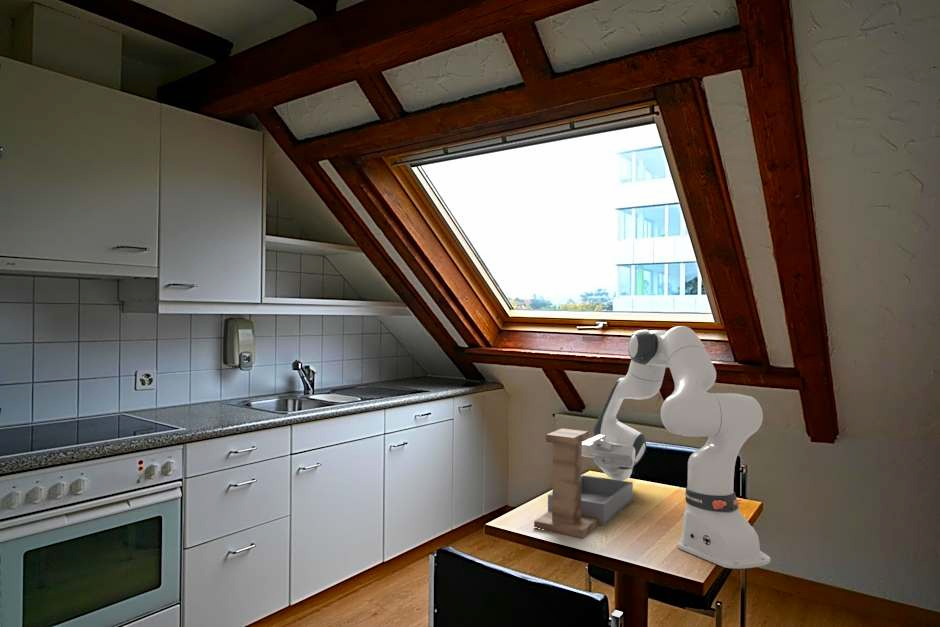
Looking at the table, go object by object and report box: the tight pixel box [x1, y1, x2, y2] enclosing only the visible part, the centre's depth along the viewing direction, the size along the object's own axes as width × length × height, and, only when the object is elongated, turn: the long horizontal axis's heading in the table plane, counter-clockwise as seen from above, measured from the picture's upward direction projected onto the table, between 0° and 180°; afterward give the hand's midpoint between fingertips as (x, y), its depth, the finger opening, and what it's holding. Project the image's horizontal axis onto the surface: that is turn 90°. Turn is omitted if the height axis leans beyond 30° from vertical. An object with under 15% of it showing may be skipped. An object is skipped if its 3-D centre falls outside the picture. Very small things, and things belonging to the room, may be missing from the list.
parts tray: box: [547, 474, 634, 526], centre depth 193 cm, size 27×17×6 cm, turn 149°
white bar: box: [582, 435, 606, 456], centre depth 193 cm, size 17×4×3 cm, turn 149°
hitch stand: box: [533, 428, 599, 539], centre depth 175 cm, size 12×14×26 cm
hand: (595, 441), depth 195 cm, fingers closed on white bar, 2 cm apart
